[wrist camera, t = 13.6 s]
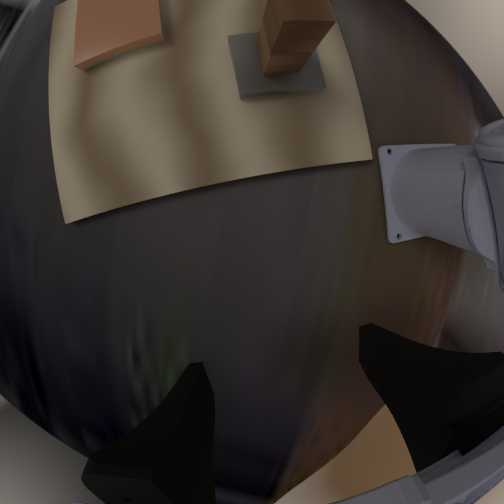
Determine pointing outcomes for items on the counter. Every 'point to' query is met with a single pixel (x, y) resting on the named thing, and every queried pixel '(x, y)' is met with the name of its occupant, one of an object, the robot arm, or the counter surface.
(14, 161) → the counter surface
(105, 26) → the tile
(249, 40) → the wooden post on base
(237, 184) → the counter surface
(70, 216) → the board
